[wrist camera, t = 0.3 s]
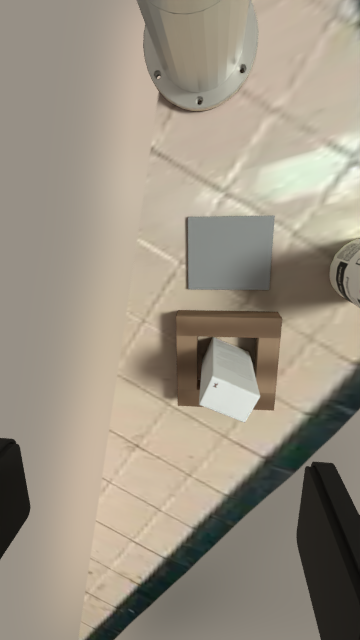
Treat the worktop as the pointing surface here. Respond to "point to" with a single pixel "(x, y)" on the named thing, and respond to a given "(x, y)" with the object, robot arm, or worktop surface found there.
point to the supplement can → (347, 272)
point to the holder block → (228, 325)
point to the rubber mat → (230, 252)
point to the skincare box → (228, 380)
